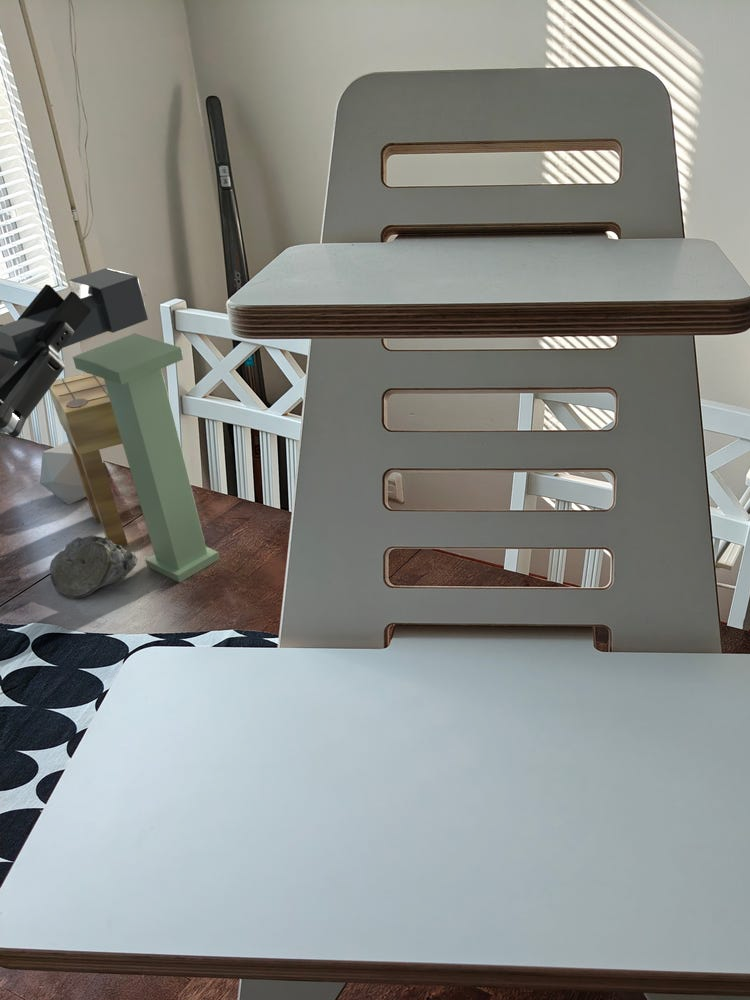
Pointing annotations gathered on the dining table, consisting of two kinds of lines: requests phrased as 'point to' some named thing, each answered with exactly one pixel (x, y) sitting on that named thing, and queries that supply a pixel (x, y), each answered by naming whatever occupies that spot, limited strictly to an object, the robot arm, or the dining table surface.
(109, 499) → the go table
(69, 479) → the die
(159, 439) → the shelf stand
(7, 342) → the t-shaped mallet
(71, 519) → the dining table surface
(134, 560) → the grey rough chunk
